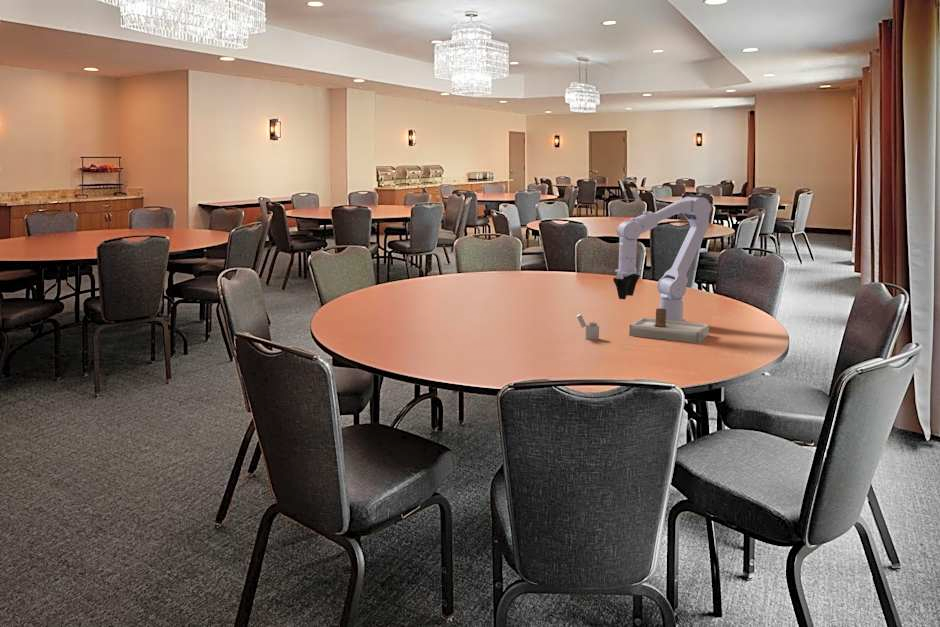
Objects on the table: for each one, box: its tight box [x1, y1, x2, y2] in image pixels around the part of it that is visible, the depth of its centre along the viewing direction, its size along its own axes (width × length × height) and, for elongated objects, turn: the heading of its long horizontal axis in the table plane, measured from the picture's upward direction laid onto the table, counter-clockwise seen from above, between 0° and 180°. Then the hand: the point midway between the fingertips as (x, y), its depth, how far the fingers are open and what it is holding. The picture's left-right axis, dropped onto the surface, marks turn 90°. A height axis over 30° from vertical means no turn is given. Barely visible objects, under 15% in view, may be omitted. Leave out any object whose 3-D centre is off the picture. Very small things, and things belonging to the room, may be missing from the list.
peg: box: [655, 308, 666, 328], centre depth 235 cm, size 3×3×8 cm
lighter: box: [576, 313, 600, 341], centre depth 228 cm, size 7×2×8 cm, turn 81°
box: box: [628, 317, 710, 344], centre depth 233 cm, size 13×22×4 cm, turn 59°
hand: (625, 297), depth 245 cm, fingers open, 7 cm apart
